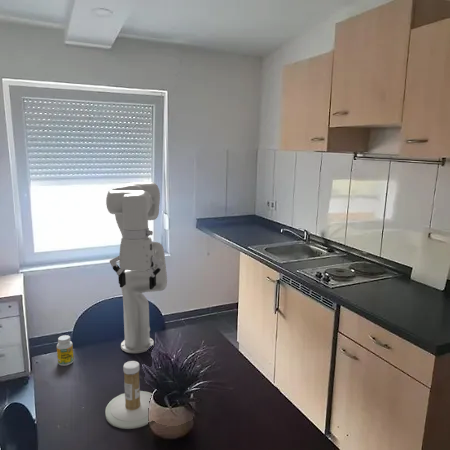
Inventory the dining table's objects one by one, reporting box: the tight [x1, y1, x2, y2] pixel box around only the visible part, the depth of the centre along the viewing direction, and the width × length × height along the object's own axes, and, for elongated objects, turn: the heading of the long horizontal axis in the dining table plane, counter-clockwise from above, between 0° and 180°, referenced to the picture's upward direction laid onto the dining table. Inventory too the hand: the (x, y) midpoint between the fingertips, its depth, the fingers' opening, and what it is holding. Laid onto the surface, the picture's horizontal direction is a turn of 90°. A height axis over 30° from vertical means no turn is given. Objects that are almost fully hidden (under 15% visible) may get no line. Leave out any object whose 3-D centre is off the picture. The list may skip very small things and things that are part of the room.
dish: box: [104, 390, 153, 430], centre depth 121 cm, size 16×16×1 cm
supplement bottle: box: [56, 334, 75, 367], centre depth 146 cm, size 5×5×10 cm
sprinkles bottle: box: [122, 360, 141, 410], centre depth 119 cm, size 5×5×14 cm
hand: (137, 287), depth 128 cm, fingers open, 9 cm apart
